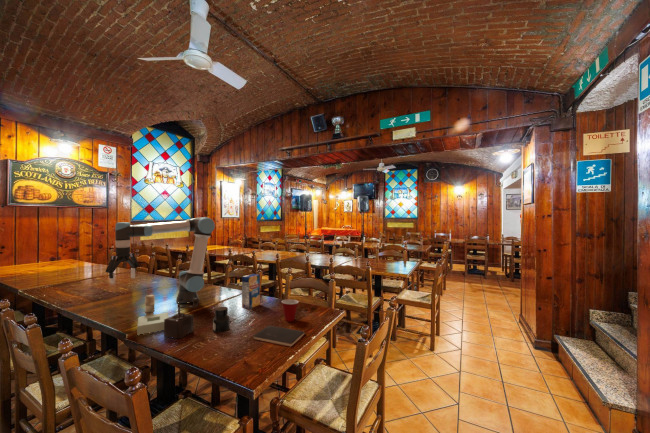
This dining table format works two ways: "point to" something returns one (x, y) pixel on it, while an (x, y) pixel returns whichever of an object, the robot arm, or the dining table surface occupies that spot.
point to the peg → (149, 305)
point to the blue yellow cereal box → (250, 290)
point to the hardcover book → (279, 335)
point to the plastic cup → (289, 309)
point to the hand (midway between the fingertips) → (123, 280)
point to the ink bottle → (221, 320)
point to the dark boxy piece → (180, 322)
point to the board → (151, 323)
